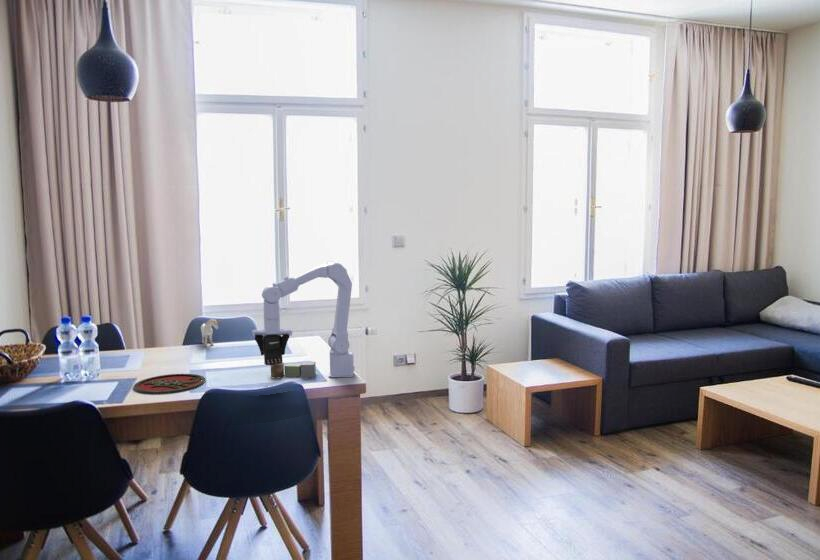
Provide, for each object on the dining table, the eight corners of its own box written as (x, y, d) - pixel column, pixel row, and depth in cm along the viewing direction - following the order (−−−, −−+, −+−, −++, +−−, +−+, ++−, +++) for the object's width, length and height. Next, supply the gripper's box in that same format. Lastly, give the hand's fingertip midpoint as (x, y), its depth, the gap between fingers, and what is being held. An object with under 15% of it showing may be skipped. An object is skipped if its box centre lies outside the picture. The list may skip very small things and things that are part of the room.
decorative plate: (186, 392, 216) (119, 391, 219) (186, 396, 216) (119, 394, 219) (216, 374, 241) (155, 373, 243) (216, 377, 241) (156, 376, 244)
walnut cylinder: (284, 374, 243) (284, 361, 242) (282, 377, 238) (282, 365, 237) (272, 374, 243) (271, 362, 242) (269, 378, 238) (269, 365, 237)
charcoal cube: (315, 374, 243) (315, 361, 243) (314, 377, 238) (313, 364, 238) (302, 374, 243) (302, 361, 243) (301, 377, 238) (300, 364, 238)
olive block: (302, 373, 244) (302, 363, 244) (299, 376, 240) (299, 366, 240) (288, 373, 245) (287, 363, 244) (284, 375, 241) (284, 365, 241)
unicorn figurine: (212, 349, 289) (211, 321, 288) (192, 343, 303) (191, 316, 301) (226, 346, 294) (225, 319, 293) (206, 341, 308) (205, 314, 306)
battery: (265, 366, 228) (264, 336, 227) (263, 364, 232) (261, 334, 231) (284, 364, 231) (282, 334, 230) (282, 362, 235) (280, 332, 234)
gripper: (293, 316, 234) (294, 351, 235) (254, 317, 233) (255, 352, 235) (290, 319, 227) (291, 356, 228) (250, 320, 226) (251, 356, 228)
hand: (273, 354), depth 231 cm, fingers closed on battery, 7 cm apart
